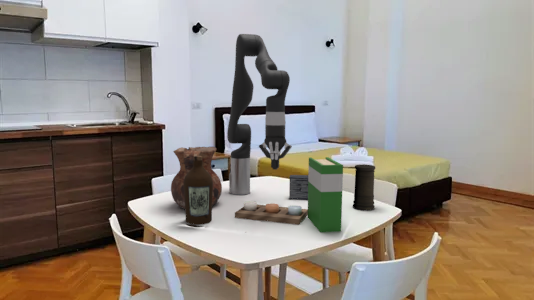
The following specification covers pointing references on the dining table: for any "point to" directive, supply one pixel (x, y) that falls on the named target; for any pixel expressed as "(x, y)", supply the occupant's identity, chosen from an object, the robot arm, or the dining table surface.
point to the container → (364, 187)
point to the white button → (250, 206)
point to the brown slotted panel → (271, 215)
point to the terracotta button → (272, 208)
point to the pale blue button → (295, 210)
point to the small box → (298, 187)
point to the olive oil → (198, 194)
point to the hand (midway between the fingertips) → (275, 169)
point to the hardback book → (325, 194)
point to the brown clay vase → (186, 165)
